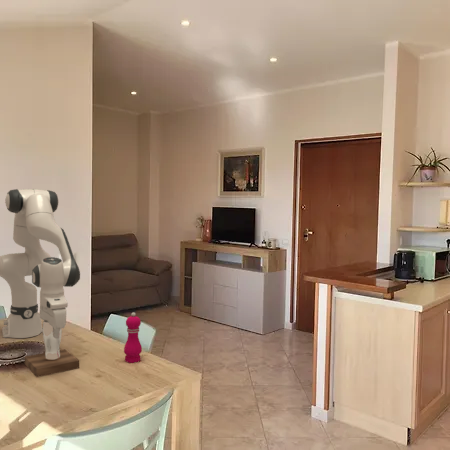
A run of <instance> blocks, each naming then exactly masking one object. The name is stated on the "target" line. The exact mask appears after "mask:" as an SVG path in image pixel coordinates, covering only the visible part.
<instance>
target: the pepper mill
mask: <svg viewBox="0 0 450 450" xmlns="http://www.w3.org/2000/svg"><path fill="white" fill-rule="evenodd" d="M141 323H142V321H141V318H140V317H139V316H136V312H132V313H131V316H128V317H127V319H126V320H125V327H127V329H126V331H127V339H126V342H125V345H124V347H123V353H124V354H125V356H124V361H125V363H130V364H135V363H134V362H136V363H139V362H140V361H141V355H140V354H141V353H142V352H143V348H142V344H141V341H140V339H139V332H140V326H141ZM138 361H139V362H138Z"/></svg>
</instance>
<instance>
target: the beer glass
mask: <svg viewBox="0 0 450 450" xmlns="http://www.w3.org/2000/svg"><path fill="white" fill-rule="evenodd" d="M42 321H43V323H42V328H43V332H42V338H43V343H44V351H45V352H44V353H45V357H44V359H45V360H49V361H51V360H57V359H59V358H61V355H60V350H61V349H60V348H61V340H62V332H63V331H62V329H63V328H61V329H60V332H59V338H54V337H53V333H54V327H52V326H51V325H50V324H49V322H45V320H42Z"/></svg>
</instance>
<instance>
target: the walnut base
mask: <svg viewBox="0 0 450 450" xmlns="http://www.w3.org/2000/svg"><path fill="white" fill-rule="evenodd" d="M60 355H61V358H59V359H57V360H51V361H49V360H45V359H44V357H45V352H42V353H37V354H31V355H25V356H24V365H25V366H26V367H27V368H28V369H29V371H30V372H32V374H33V375H34V376H35V377H36V378H39V377H44V376H49V375H53V374H57V373H58V374H59V373H62V372H67V371H72V370H76V369H80V359H78V358H77V357H75V356H74V355H73V354H72V353H70V352H69V350H66V349H64V348H63V349H60Z"/></svg>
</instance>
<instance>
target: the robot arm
mask: <svg viewBox="0 0 450 450" xmlns="http://www.w3.org/2000/svg"><path fill="white" fill-rule="evenodd" d="M4 203H5V206H6V208H7V209H6V210H8V212H10V213H13V214H14V219H13V235H12V239H13V241H14V244H17V245H18V246H20V247H23V248H24V252H18V253H6V254H3V255H0V278H1V279H3V280H4V281H6V283H7V284H8V286H9V289H10V292H11V293H10V294H11V305H10V308H9V309H10V310H9V311H10V313H9V315H8V317H7V318H6V319H5V320H3V327H2V328H1V332H2V337H3V338H11V339H12V338H13V339H25V338H32V337H35V336H38V335H40V334H41V333H43V323H42V321H44V320H45V322H49V324H50V325H51V326H52V327H54V333H53V337H54V338H59V332H60V329H61V328H62V329H64V328H65V327H66V323H67V308H68V306H69V305H68V304H69V303H68V301H67V299H66V297H65V289H64V287H65V288H66V287H70V288H71V287H75V285H77V283H79V281H80V280H81V270H80V268H79V265H78V263H77V262H76V259H75V255H74V254H73V251H72V248H71V245H70V242H69V239H68V236H67V234H66V232H65V230H64V228H63V227H60V226H59V225H58V224H57V222H56V220H55V218H54V212H56V211H57V210H58V206H59V198H58V194H57V193H56V192H55V191H54V190H53V191H52V190H49V189H47V190H46V189H36V188H32V189H29V188H28V189H24V188H23V189H18V188H16V189H10V190H9V191H8V192H7V193H6V196H5V202H4ZM40 240H41V241H46V242H48V243H51V244H53V245H55V246H56V247H57V249H58V251H59V254H60V257H61V258H59V257H55V256H54V257H53V256H51V255H50V254H49V253H48V252H47V251H45V250H44V249H43V247H42V245H41V242H40ZM28 276H31V283H29V282H27V281H26V280H25V277H28ZM37 288H40V290H39V303H38V290H37Z"/></svg>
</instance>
